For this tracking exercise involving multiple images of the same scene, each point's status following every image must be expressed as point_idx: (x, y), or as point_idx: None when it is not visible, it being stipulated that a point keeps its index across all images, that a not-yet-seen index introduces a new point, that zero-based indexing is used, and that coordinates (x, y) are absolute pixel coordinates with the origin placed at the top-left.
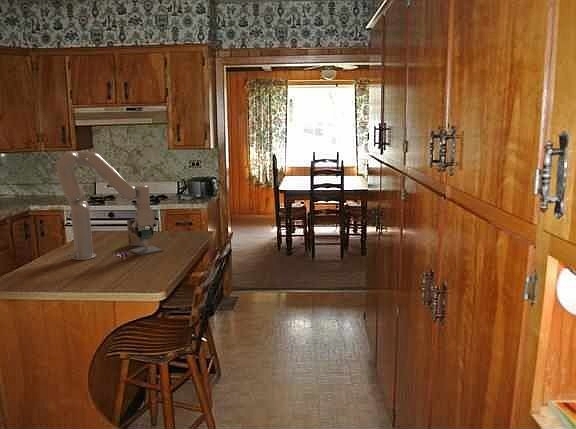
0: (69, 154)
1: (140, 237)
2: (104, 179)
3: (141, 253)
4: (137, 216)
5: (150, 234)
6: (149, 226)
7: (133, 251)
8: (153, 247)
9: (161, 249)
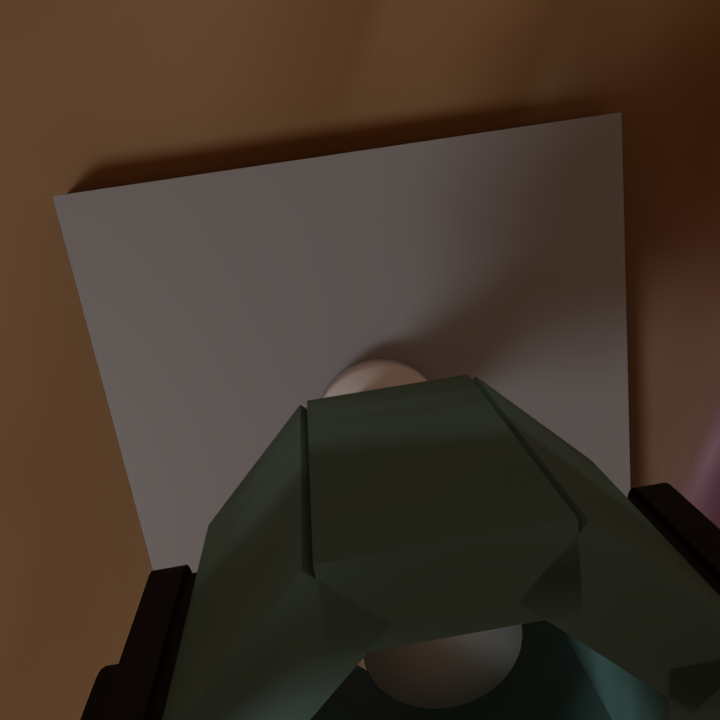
0: None
1: (663, 494)
2: None
3: (592, 134)
4: None
5: (293, 478)
6: None
7: (626, 447)
8: (188, 514)
9: (76, 228)
